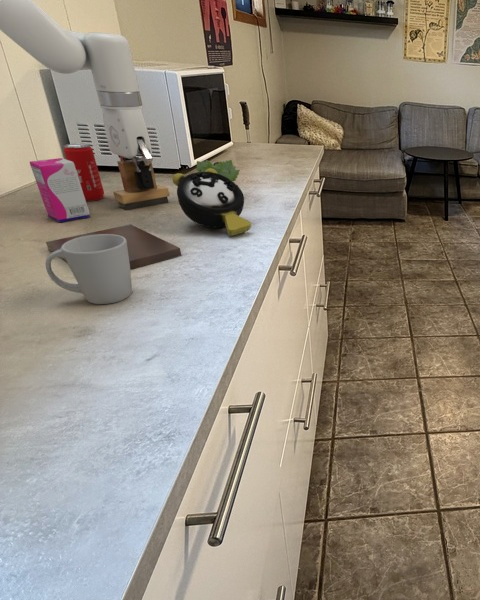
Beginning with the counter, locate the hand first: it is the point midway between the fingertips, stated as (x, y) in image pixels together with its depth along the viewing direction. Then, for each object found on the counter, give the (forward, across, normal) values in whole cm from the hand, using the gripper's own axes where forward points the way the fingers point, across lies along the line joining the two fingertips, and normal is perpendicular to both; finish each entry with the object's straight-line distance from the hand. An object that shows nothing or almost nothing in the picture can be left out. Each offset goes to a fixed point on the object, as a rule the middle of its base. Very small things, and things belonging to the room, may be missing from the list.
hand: (140, 185), depth 107 cm
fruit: (+5, +6, +15) cm, 17 cm away
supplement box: (+5, -1, -15) cm, 15 cm away
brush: (+4, 0, 0) cm, 4 cm away
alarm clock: (+5, +24, +3) cm, 25 cm away
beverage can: (+5, -12, -6) cm, 14 cm away
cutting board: (+4, +25, -17) cm, 31 cm away
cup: (+5, +41, -26) cm, 49 cm away
